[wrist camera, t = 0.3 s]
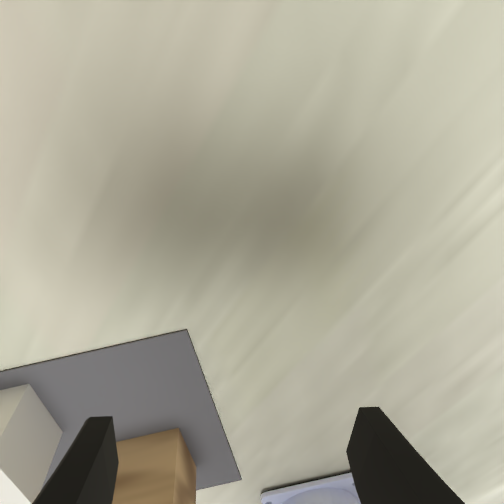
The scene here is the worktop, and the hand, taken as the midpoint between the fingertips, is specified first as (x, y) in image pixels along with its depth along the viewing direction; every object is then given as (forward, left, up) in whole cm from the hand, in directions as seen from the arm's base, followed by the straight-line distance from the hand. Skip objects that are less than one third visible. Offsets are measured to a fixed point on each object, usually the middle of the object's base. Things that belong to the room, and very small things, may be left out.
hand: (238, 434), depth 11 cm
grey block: (-7, +15, -10) cm, 19 cm away
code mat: (-11, +11, -10) cm, 18 cm away
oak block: (-13, +8, -10) cm, 18 cm away
